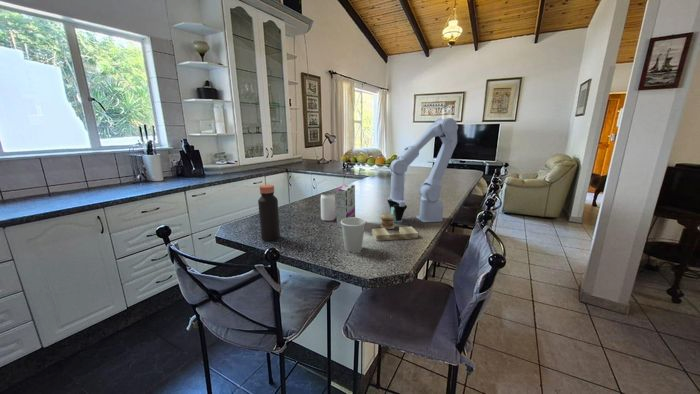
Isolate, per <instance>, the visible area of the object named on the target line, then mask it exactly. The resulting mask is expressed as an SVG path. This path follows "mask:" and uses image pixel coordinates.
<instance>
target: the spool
mask: <svg viewBox="0 0 700 394" xmlns="http://www.w3.org/2000/svg"><path fill="white" fill-rule="evenodd" d="M379 216H380V217H379V218H380V219H381V224H380V225H379V227H380V228H385V229H386V231H389V230H394V229H395V228H396V225H395V224H394V223H393V219H395V215H393V214H391V213H381V214H380V215H379Z"/></svg>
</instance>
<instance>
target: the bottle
mask: <svg viewBox="0 0 700 394" xmlns="http://www.w3.org/2000/svg"><path fill="white" fill-rule="evenodd" d="M259 193H260V195H261V196H260V197H259V198H258V200H257V204H258V205H257V206H258V213H259V214H258V215H259V226H260V237H261V240H262V241H263V242H275V241H277V240H279V239H280V238H281V228H280V214H279V201H278V200H279V199H278V198H277V197H276V196H275V186H274V185H273V184H263V185H260V186H259Z"/></svg>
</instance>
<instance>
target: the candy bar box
mask: <svg viewBox="0 0 700 394" xmlns="http://www.w3.org/2000/svg"><path fill="white" fill-rule="evenodd" d="M355 187H356V185H355V184H351V183H350V184H348V183H347V184H346V183H345V184H343V185H342V186H339V187H338V188H337V189H335V215H336V228H338V229H342V224H341V220H343V219H345V218H350V217H356V188H355Z"/></svg>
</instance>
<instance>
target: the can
mask: <svg viewBox="0 0 700 394" xmlns="http://www.w3.org/2000/svg"><path fill="white" fill-rule="evenodd" d="M320 194H321V195H320V220H321V221H324V222H331V221H335V220H336V194H335V193H334V192H333V191H325V192H321V193H320Z"/></svg>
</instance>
